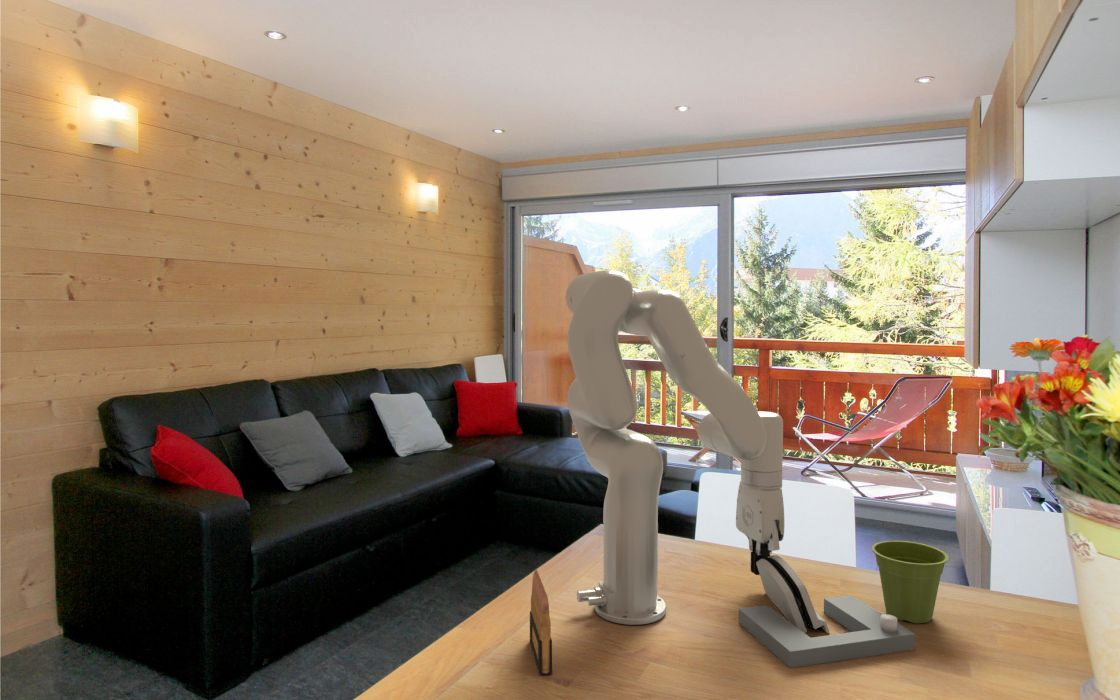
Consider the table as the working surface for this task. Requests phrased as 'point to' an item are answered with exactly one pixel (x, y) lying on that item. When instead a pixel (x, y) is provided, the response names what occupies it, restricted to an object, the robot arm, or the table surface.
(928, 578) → the plant pot
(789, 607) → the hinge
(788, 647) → the gray u-shaped block
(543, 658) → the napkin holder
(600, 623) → the table surface
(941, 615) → the table surface
